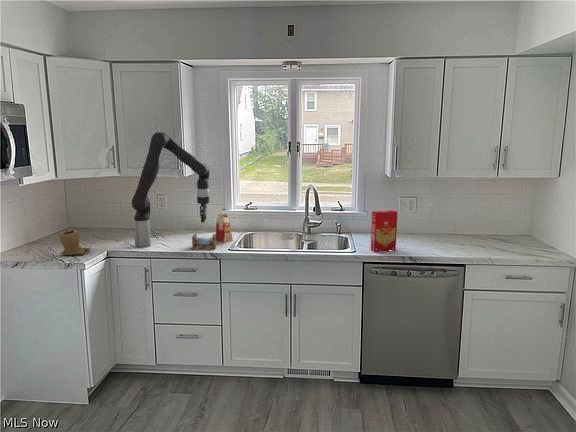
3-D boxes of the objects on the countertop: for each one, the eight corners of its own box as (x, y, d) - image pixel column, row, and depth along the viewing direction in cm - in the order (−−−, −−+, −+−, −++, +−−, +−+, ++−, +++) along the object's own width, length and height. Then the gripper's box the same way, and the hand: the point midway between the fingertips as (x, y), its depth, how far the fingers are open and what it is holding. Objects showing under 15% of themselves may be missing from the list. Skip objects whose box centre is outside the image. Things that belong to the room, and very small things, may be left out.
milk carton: (233, 241, 300) (232, 212, 297) (224, 243, 292) (223, 214, 289) (222, 239, 305) (221, 211, 301) (213, 242, 297) (213, 213, 293)
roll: (196, 248, 280) (195, 240, 277) (197, 243, 285) (196, 236, 282) (211, 247, 281) (211, 240, 278) (212, 243, 286) (212, 236, 283)
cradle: (192, 249, 277) (192, 237, 276) (194, 246, 286) (193, 234, 284) (214, 249, 278) (214, 237, 277) (216, 245, 287) (215, 233, 286)
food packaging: (374, 252, 273) (376, 212, 269) (370, 250, 278) (372, 211, 274) (395, 250, 277) (397, 211, 273) (391, 248, 282) (393, 210, 278)
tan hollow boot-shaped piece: (57, 257, 258) (54, 232, 256) (66, 252, 270) (64, 228, 267) (83, 257, 259) (81, 232, 256) (91, 252, 271) (89, 228, 268)
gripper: (198, 194, 283) (199, 218, 286) (195, 197, 269) (196, 223, 272) (210, 194, 283) (210, 218, 286) (207, 197, 269) (208, 223, 272)
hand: (203, 221), depth 279 cm, fingers open, 8 cm apart
